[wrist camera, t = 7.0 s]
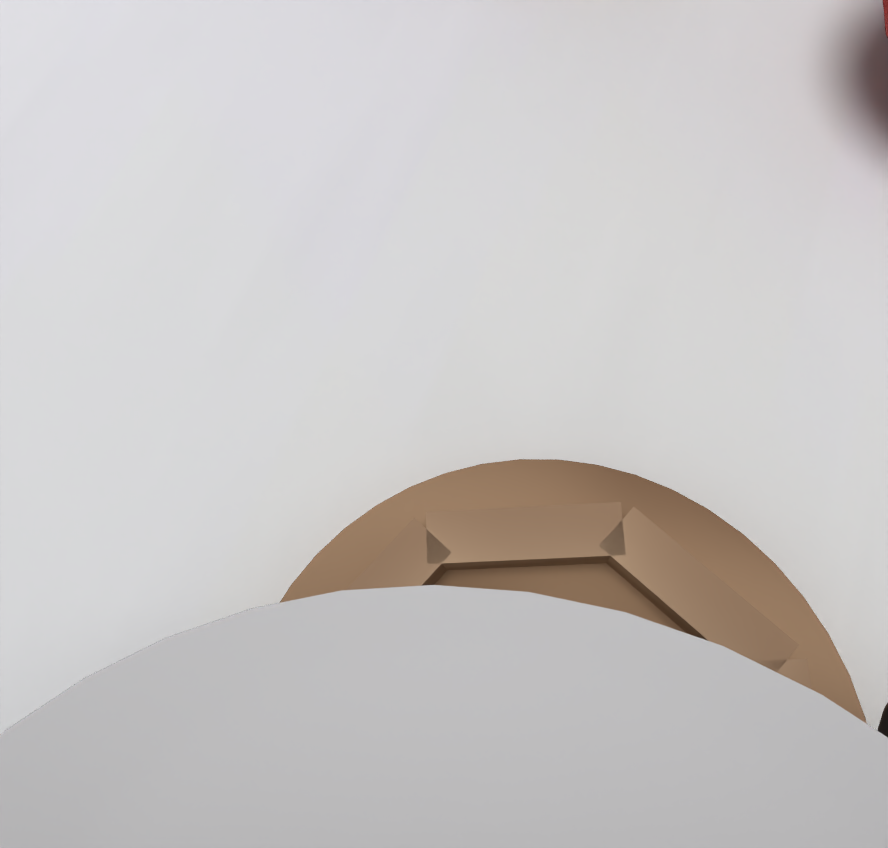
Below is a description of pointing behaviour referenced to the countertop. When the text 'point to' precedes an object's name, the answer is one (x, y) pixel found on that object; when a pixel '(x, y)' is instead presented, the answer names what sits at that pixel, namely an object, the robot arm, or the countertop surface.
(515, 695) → the canister
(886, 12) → the red rounded tapered piece
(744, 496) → the countertop surface
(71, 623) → the countertop surface
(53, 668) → the countertop surface
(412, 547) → the trivet
